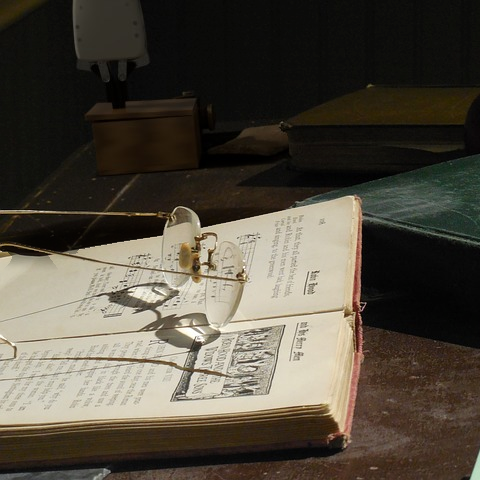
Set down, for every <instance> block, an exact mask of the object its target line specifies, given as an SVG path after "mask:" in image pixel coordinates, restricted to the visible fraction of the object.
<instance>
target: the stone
mask: <svg viewBox="0 0 480 480" xmlns="http://www.w3.org/2000/svg"><path fill="white" fill-rule="evenodd" d="M289 148H290V147H289V141H288V136H287V133H286V132H283V131H281V129H280V128H279V124H273V125H261V126H255V127H254V126H252V127H246V128H245V129H243V130H242V131H241V132H240V133H239V135H237V136H236V137H235V138H234V139H233V138H232V139H230V140H229V141H227V142H225V143H223V144H219V145H217V146H214V147H213V146H212V148H210V149H207V151H206V153H207V154H208V155H210V156H212V155H214V156H215V155H229V154H230V155H253V156H254V155H255V156H263V157H270V156H273V155H277V154H278V153H282V152H283V151H287V150H288V149H289Z"/></svg>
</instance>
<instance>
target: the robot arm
mask: <svg viewBox="0 0 480 480" xmlns="http://www.w3.org/2000/svg"><path fill="white" fill-rule="evenodd" d="M142 9H143V8H142V5H141V1H140V0H72V25H73V26H72V27H73V37H74V38H73V40H74V49H75V54H76V57H77V58H76V68H77V70H79V71H80V70H81V71H85V72H92V73H94V74H95V75H96V76H97V77H99V78H100V79H101V81H102V82H104V84H105V93H106V100H107V103H112V108H113V109H116V108H118V107H119V108H124V107H125V106H126V103H125V102H129V101H130V97H129V88H128V80H127V79H128V77H129V76H131V74H132V73H133V71H134V70H136V69H138V68H141V67H144V66H147V65H149V64H150V63H151V59H150V54H149V52H148V39H147V32H146V31H147V30H146V26H145V25H146V24H145V20H144V14H143V10H142ZM110 61H118V63H117V65H118V67H117V76H116V79H115V76H114V75H113V71H112V68H111V64H110Z"/></svg>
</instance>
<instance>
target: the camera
mask: <svg viewBox="0 0 480 480" xmlns="http://www.w3.org/2000/svg"><path fill="white" fill-rule="evenodd" d="M188 98H197V108H198V118H199V127H200V137H201V140H204V142H201V148H202V151H206V150H207V151H208V150H209V149H210V148H213V144H212V142H211V143H210V142H208V140H207V139H206V138H204V137H203V135H204V131H203V130H209V131H212V132H213V131H215V130H216V125H217V116H216V110H215V109H214V104H212V103H211V104H207V105H206V106H201V101H200V99H201V98H200V96H199V95H196V93H195V90H185V91H182V95H178V96H173V97H172V99H188Z"/></svg>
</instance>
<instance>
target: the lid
mask: <svg viewBox="0 0 480 480" xmlns="http://www.w3.org/2000/svg"><path fill="white" fill-rule="evenodd" d="M125 103H126V106H125V107H124V108H119V107H118V108H116V109H113V108H112V103H108V102H96V103H95V104H94V106H92V108H91V109H90V110H88V111H87V112H86V113H85V114H84V121H85V122H88V121H89V122H91V121H95V120H111V119H130V118H150V117H169V116H188V115H193V113H194V110H195V107H196V104H197V98H188V99H173V98H172V99H171V98H170V99H151V100H133V101H132V100H131V101H130V100H129V101H127V102H125Z"/></svg>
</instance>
